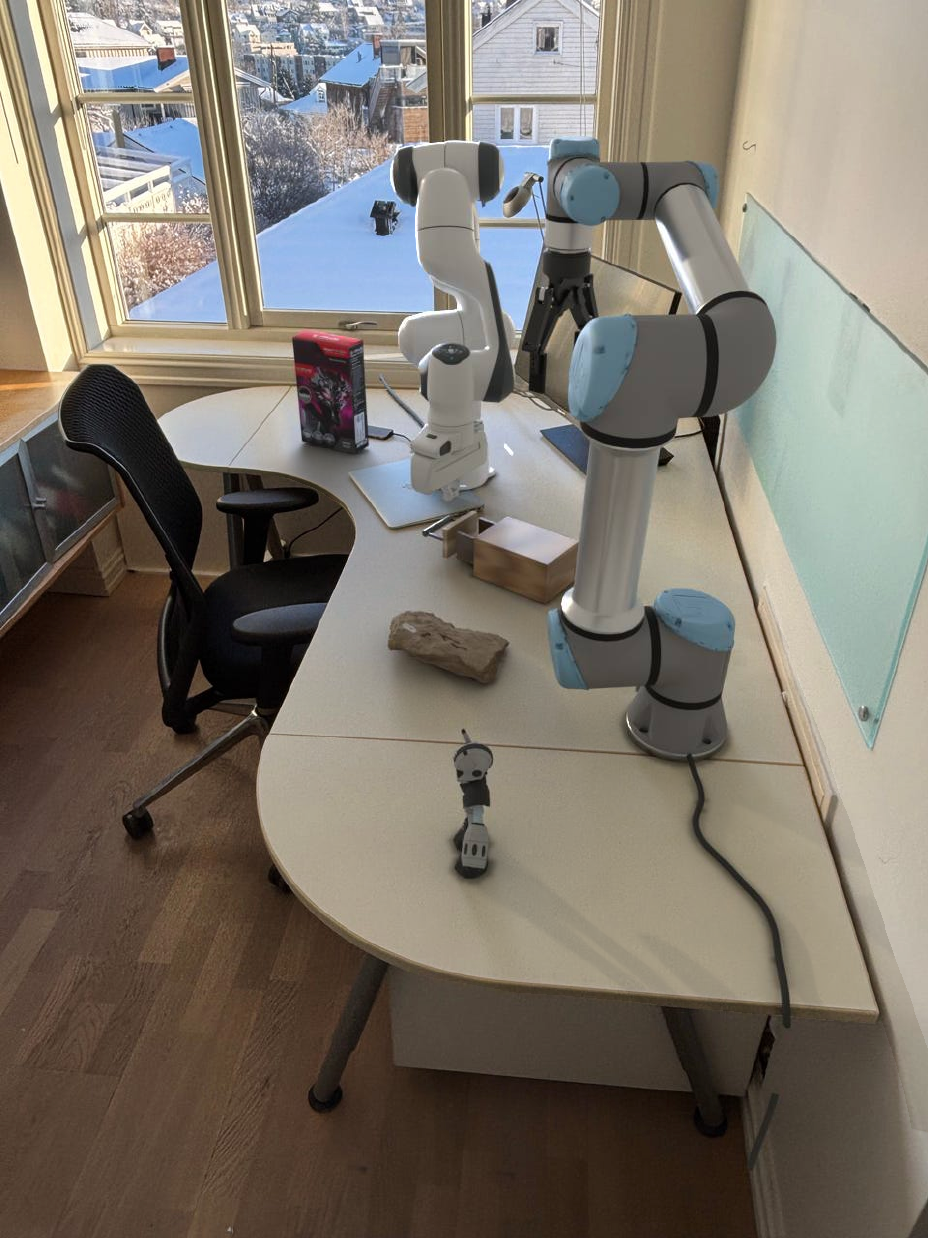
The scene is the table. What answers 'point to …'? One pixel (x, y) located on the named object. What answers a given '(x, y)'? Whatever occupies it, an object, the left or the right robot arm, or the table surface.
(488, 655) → the stone
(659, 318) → the right robot arm
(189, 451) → the table surface
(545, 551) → the cabinet
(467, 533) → the drawer
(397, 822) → the table surface
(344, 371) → the graphics card box
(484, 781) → the robot
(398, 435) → the table surface
